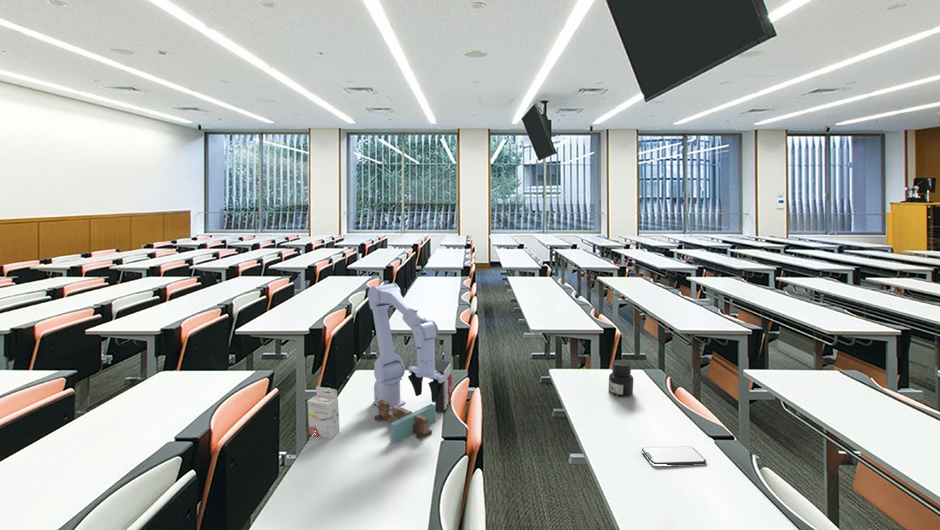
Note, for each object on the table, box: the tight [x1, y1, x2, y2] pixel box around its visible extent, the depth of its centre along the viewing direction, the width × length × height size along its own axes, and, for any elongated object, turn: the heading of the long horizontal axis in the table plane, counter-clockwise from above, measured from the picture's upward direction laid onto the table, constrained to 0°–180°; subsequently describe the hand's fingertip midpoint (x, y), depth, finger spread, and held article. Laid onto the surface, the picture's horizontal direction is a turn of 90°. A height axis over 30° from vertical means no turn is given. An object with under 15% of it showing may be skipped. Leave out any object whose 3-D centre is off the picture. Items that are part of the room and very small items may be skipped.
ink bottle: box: [607, 359, 634, 397], centre depth 187 cm, size 10×9×12 cm
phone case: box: [641, 446, 707, 466], centre depth 143 cm, size 9×2×16 cm
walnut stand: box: [374, 400, 433, 441], centre depth 162 cm, size 22×5×6 cm, turn 51°
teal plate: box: [389, 403, 437, 444], centre depth 158 cm, size 18×2×6 cm, turn 140°
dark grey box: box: [434, 360, 453, 413], centre depth 176 cm, size 11×4×15 cm, turn 168°
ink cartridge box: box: [307, 385, 340, 440], centre depth 157 cm, size 9×5×15 cm, turn 71°
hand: (426, 398), depth 162 cm, fingers open, 7 cm apart
